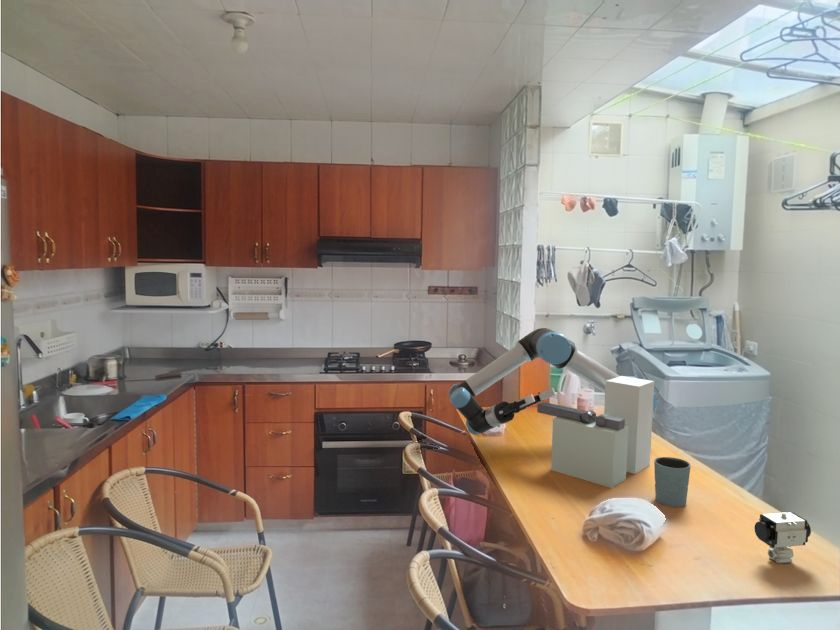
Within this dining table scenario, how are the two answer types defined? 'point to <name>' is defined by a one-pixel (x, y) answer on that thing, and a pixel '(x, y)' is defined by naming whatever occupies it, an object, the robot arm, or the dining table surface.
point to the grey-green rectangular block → (591, 449)
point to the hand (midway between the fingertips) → (544, 394)
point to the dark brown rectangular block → (567, 412)
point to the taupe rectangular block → (633, 416)
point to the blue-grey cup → (671, 481)
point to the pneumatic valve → (782, 534)
